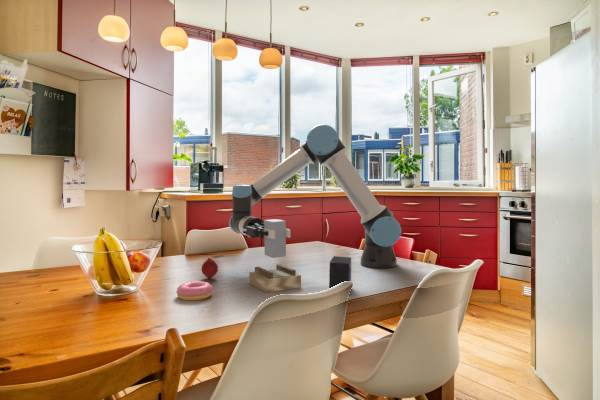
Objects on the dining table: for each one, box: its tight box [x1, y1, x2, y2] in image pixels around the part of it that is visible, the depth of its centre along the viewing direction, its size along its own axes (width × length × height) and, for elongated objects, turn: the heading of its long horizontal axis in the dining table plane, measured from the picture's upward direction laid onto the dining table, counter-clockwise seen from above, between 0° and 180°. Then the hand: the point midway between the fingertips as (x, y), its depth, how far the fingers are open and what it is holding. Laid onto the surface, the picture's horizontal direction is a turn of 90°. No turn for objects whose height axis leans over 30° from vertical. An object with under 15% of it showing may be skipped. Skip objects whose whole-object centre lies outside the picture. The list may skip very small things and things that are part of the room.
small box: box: [328, 255, 352, 289], centre depth 130 cm, size 11×6×10 cm, turn 168°
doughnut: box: [175, 280, 214, 302], centre depth 124 cm, size 11×11×4 cm
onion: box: [201, 256, 219, 279], centre depth 146 cm, size 6×6×8 cm
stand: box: [248, 263, 302, 293], centre depth 137 cm, size 13×13×6 cm
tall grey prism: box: [263, 218, 287, 259], centre depth 136 cm, size 5×6×12 cm
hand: (281, 234), depth 132 cm, fingers closed on tall grey prism, 5 cm apart
